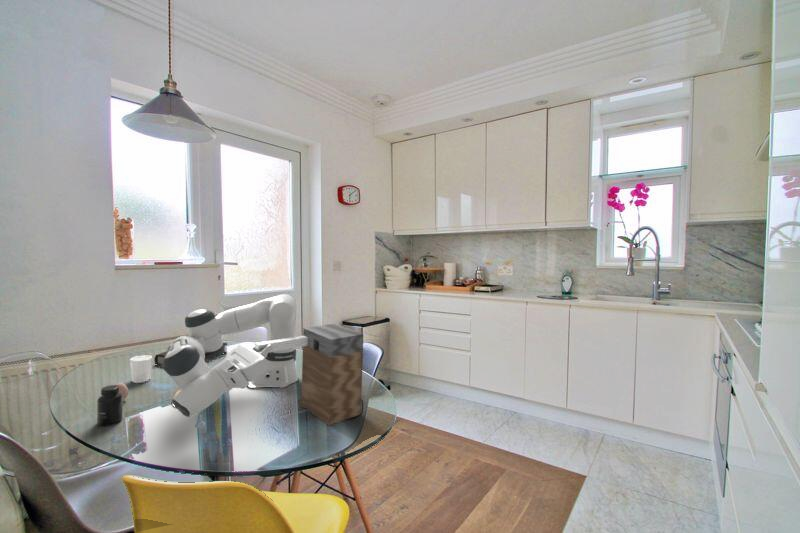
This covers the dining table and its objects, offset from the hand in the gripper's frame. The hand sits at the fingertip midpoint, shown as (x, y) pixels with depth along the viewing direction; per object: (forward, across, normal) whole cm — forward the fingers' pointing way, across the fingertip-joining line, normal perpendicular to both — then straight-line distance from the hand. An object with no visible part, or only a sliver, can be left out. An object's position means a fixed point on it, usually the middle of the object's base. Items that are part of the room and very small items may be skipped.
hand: (268, 344), depth 120 cm
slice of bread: (-25, -44, -20) cm, 55 cm away
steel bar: (+3, 0, -4) cm, 5 cm away
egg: (-45, -55, -9) cm, 72 cm away
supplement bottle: (-49, -38, -7) cm, 62 cm away
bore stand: (+7, 0, -38) cm, 39 cm away
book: (-16, -94, -26) cm, 99 cm away
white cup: (-37, -75, -13) cm, 85 cm away
